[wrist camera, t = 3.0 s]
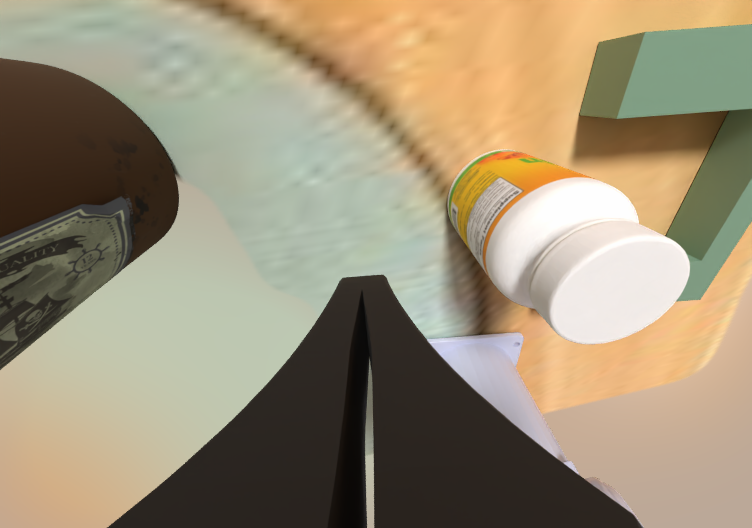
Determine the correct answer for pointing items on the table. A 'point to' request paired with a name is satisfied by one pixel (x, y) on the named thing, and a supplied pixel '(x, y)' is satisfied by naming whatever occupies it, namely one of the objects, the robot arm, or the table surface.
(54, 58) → the table surface
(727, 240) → the green u-shaped block
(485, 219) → the supplement bottle
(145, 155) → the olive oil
